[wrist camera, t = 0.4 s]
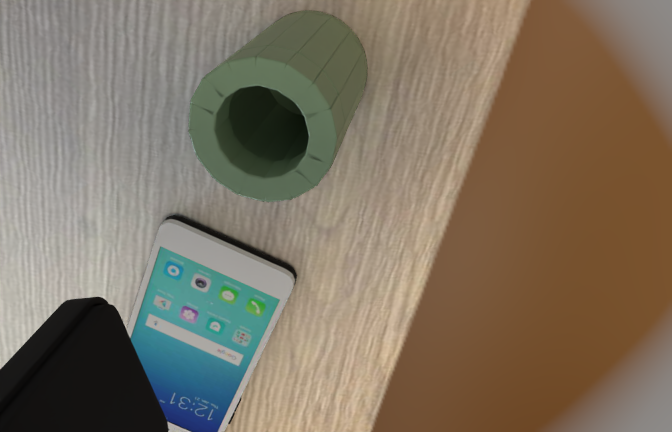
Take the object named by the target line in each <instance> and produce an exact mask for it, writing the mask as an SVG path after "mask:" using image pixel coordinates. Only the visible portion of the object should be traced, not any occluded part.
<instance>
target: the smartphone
mask: <svg viewBox="0 0 672 432" xmlns="http://www.w3.org/2000/svg"><path fill="white" fill-rule="evenodd" d="M296 278H297V274H296V272H295V270H294V269H293V268H292V267H291V266H289V265H287V264H285V263H283V262H281V261H279V260H276V259H274V258H272V257H270V256H267V255H265V254H263V253H261V252H259V251H256V250H254V249H252V248H250V247H247V246H245V245H243V244H241V243H239V242H236V241H234V240H232V239H230V238H228V237H225V236H223V235H221V234H219V233H216V232H214V231H212V230H210V229H208V228H205V227H203V226H201V225H199V224H196V223H194V222H192V221H190V220H188V219H185V218H183V217H181V216H176V215H173V216H170V217H167V218H166V219H165V221H164V222H163V223H162V225H161V226H160V228H159V229H158V232H157V235H156V238H155V242H154V245H153V248H152V251H151V254H150V257H149V260H148V264H147V267H146V270H145V273H144V276H143V279H142V282H141V286H140V289H139V292H138V295H137V298H136V301H135V305H134V308H133V311H132V314H131V317H130V320H129V323H128V327H127V333H128V335H129V337H130V339H131V341H132V344H133V346H134V348H135V350H136V353H137V355H138V357H139V359H140V361H141V364H142V366H143V368H144V370H145V372H146V375H147V377H148V379H149V381H150V384H151V386H152V388H153V390H154V392H155V395H156V397H157V399H158V401H159V404H160V406H161V408H162V410H163V412H164V415H165V417H166V419H167V422H168V432H224V431H225V429H226V427H227V425H228V424H230V422H231V420H232V418H233V416H234V414H235V413H234V412H235V411H236V409H237V407H238V405H239V403H240V401H241V396H242V394H243V392H244V389H245V387H246V385H247V383H248V381H249V379H250V377H251V375H252V373H253V371H254V369H255V367H256V365H257V362H258V360H259V358H260V356H261V354H262V352H263V350H264V348H265V346H266V344H267V342H268V340H269V338H270V335H271V333H272V331H273V329H274V327H275V325H276V323H277V321H278V319H279V317H280V315H281V313H282V311H283V308H284V306H285V304H286V302H287V300H288V298H289V296H290V294H291V292H292V290H293V287H294V285H295V283H296Z"/></svg>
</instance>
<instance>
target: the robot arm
mask: <svg viewBox="0 0 672 432" xmlns="http://www.w3.org/2000/svg"><path fill="white" fill-rule="evenodd" d="M0 432H168V422H167V419H166V417H165V415H164V412H163V410H162V408H161V406H160V404H159V401H158V399H157V397H156V395H155V392H154V390H153V388H152V386H151V384H150V381H149V379H148V377H147V375H146V372H145V370H144V368H143V366H142V364H141V361H140V359H139V357H138V355H137V353H136V350H135V348H134V346H133V344H132V341H131V339H130V337H129V335H128V333H127V330H126V328H125V326H124V324H123V321H122V319H121V317H120V315H119V313H118V311H117V309H116V308H115V307H114V306H113V305H110V304H108V302H107V301H106V300H105V299H103V298H101V297H92V298H82V299H71V300H67V301H65V302H64V303H63V304H61V305H60V306H59V308H58V309H57V310H56V311H55V312H54V313H53V314H52V315H51V316H50V317H49V318H48V319H47V320H46V321H45V322H44V324H43V325H42V326H41V327H40V328H39V329H38V330H37V331H36V332H35V333H34V334H33V335H32V336H31V337H30V339H29V340H28V341H27V342H26V343H25V344H24V345H23V346H22V347H21V348H20V349H19V350H18V351H17V352H16V353H15V355H14V356H13V357H12V358H11V359H10V360H9V361H8V362H7V363H6V364H5V365H4V366H3V367H2V368H1V370H0Z"/></svg>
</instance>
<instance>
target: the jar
mask: <svg viewBox="0 0 672 432" xmlns="http://www.w3.org/2000/svg"><path fill="white" fill-rule="evenodd" d="M366 80H367V60H366V56H365V52H364V50H363V47H362V45H361V43H360V41H359V39H358V38H357V36H356V35H355V33H354V32H353V31H352V30H351V29H350V28H349V27H348V26H347V25H346V24H345V23H343V22H342V21H341V20H339V19H337V18H336V17H334V16H331V15H329V14H326V13H323V12H318V11H299V12H295V13H291V14H289V15H287V16H284V17H283V18H281V19H279V20H278V21H277V22H275V23H274V24H273V25H271V26H270V27H268V28H267V29H266V30H264V31H263V32H262V33H260V34H259V35H258V36H256V37H255V38H254V39H253V40H251V41H250V42H249V43H247V44H246V45H245V46H243V47H242V48H241V49H240V50H238V51H237V52H236V53H234V54H233V55H232V56H230V57H229V58H228V59H226V60H225V61H224V62H223V63H221V64H220V65H219V66H217V67H216V68H215V69H213V70H212V71H211V72H210V73H208V74H207V75H206V76H205V77H204V78H203V79H202V81H201V82H200V84H199V86H198V88H197V90H196V91H195V93H194V95H193V97H192V99H191V103H190V113H189V125H188V127H189V130H188V132H189V135H190V138H191V141H192V144H193V147H194V150H195V153H196V156H198V159H199V160H200V162H201V163H202V164H203V166H204V167H205V168H206V170H207V171H208V172H209V173H210V175H211V176H212V177H213V178H214V179H215V180H216V181H217V182H219V183H220V184H222V185H223V186H225V187H226V188H228V189H229V190H231V191H232V192H234V193H235V194H237V195H240V196H243V197H247V198H251V199H255V200H259V201H263V202H265V201H266V202H274V201H283V200H291V199H293V198H296V197H298V196H300V195H302V194H303V193H305V192H307V191H309V190H310V189H312V188H314V187H315V186H317V185H318V184H319V182H320V181H321V180H322V178H323V177H324V176H325V174H326V173H327V171H328V170H329V169H330V167H331V166H332V164H333V161H334V159H335V157H336V154H337V152H338V150H339V148H340V145H341V143H342V141H343V138H344V136H345V134H346V131H347V129H348V127H349V125H350V122H351V120H352V118H353V116H354V113H355V111H356V109H357V106H358V104H359V102H360V100H361V97H362V94H363V90H364V88H365V84H366Z"/></svg>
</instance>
